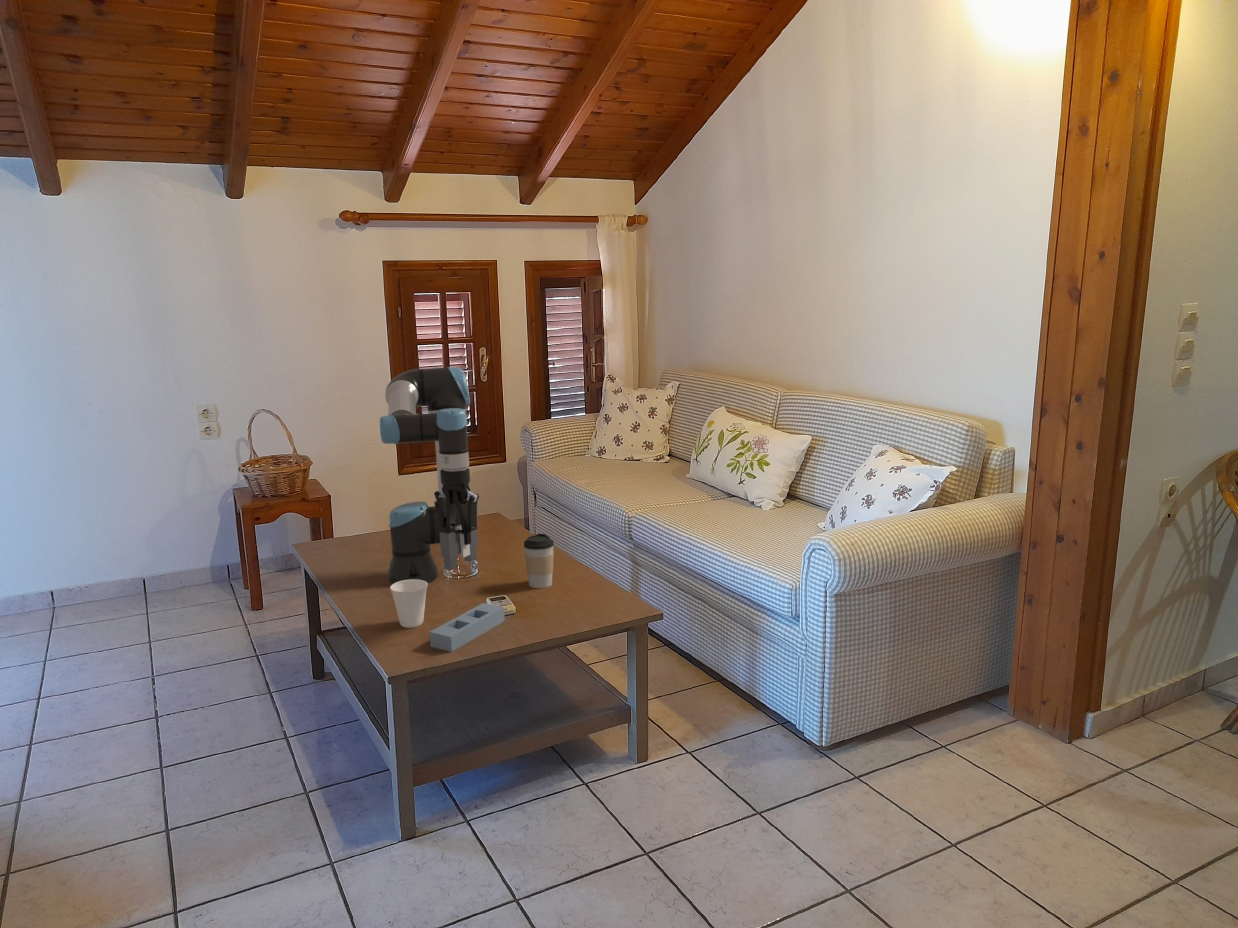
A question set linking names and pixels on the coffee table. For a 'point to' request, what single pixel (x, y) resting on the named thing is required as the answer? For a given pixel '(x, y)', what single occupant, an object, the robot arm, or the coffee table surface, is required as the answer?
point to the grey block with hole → (466, 627)
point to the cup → (410, 601)
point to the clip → (456, 546)
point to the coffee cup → (539, 560)
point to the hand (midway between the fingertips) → (460, 554)
